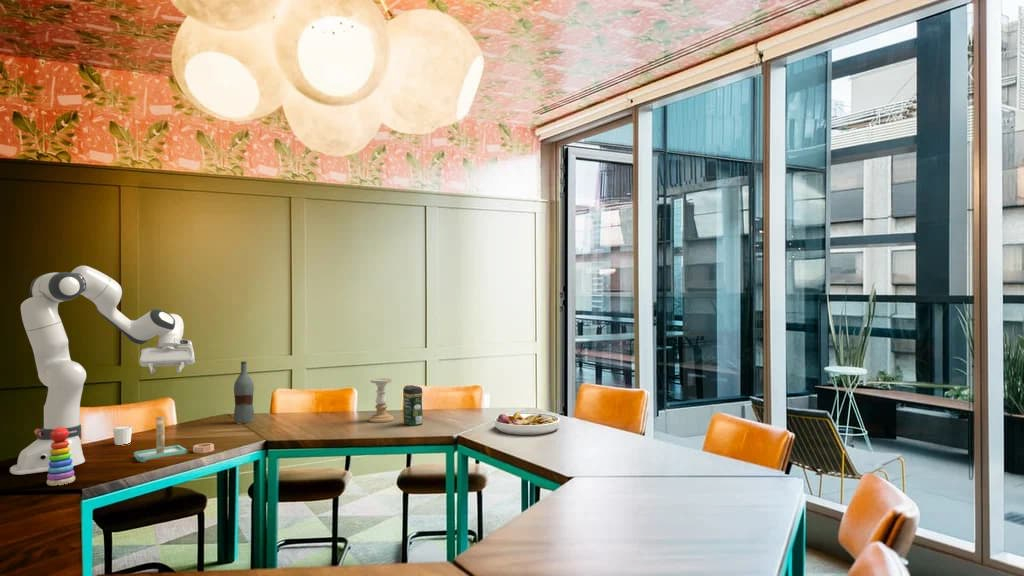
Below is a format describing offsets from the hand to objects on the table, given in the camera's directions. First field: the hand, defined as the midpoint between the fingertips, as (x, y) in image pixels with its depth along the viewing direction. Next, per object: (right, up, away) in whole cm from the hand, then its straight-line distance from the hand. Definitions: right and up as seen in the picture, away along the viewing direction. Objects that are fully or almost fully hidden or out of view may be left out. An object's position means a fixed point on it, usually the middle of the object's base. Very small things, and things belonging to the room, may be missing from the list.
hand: (165, 372), depth 261 cm
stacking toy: (-10, -31, -47) cm, 57 cm away
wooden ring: (+19, -31, -7) cm, 37 cm away
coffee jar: (+94, -31, +46) cm, 109 cm away
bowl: (+149, -31, +32) cm, 155 cm away
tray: (+4, -31, -12) cm, 34 cm away
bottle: (+10, -32, +54) cm, 63 cm away
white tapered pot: (-24, -32, +10) cm, 41 cm away
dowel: (+4, -30, -12) cm, 33 cm away
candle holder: (+77, -31, +56) cm, 100 cm away
